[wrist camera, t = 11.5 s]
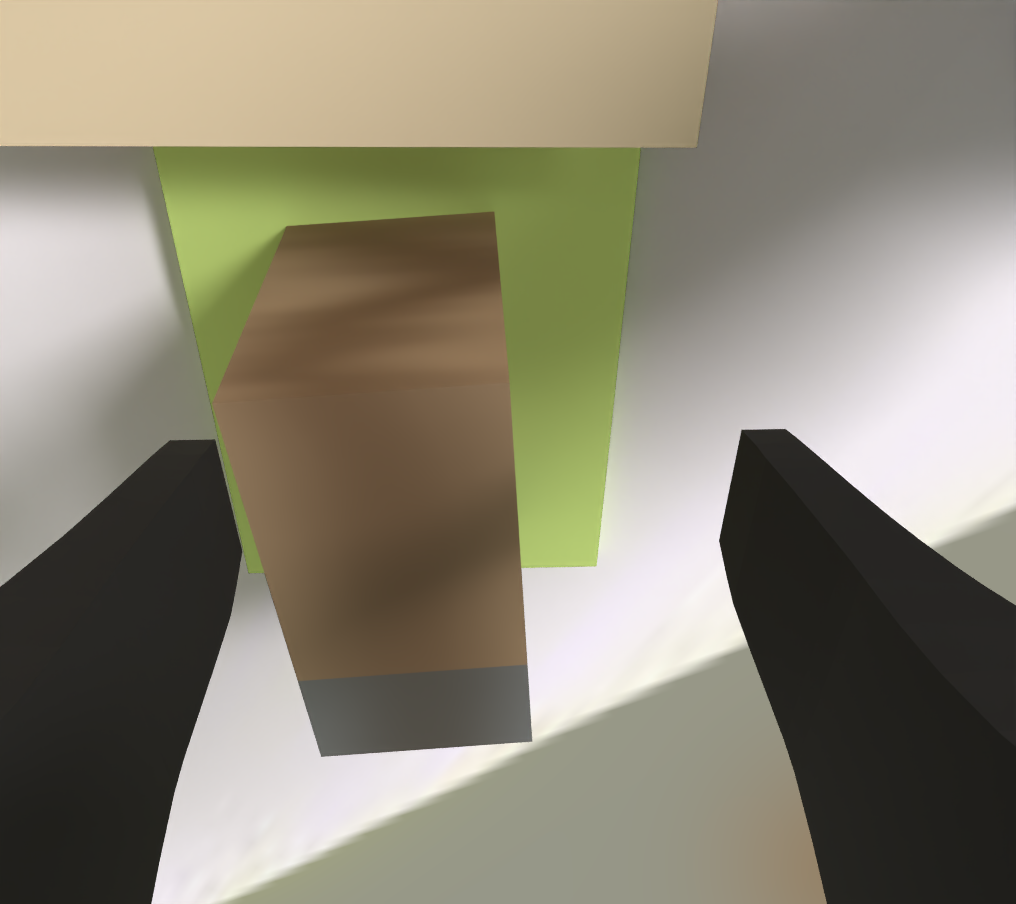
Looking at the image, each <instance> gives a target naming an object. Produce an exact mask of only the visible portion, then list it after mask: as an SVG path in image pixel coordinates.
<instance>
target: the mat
mask: <svg viewBox="0 0 1016 904" xmlns="http://www.w3.org/2000/svg"><path fill="white" fill-rule="evenodd" d="M153 150H154V154H155V159H156V163H157V168H158V172H159V177H160V181H161V186H162V190H163V195H164V199H165V203H166V208H167V212H168V217H169V221H170V226H171V230H172V235H173V239H174V244H175V248H176V252H177V257H178V261H179V266H180V270H181V275H182V279H183V284H184V288H185V293H186V297H187V301H188V306H189V310H190V315H191V319H192V324H193V328H194V333H195V337H196V341H197V346H198V350H199V355H200V359H201V364H202V368H203V373H204V377H205V382H206V386H207V390H208V395H209V399H210V404H211V408H212V413H213V417H214V422H215V426H216V431H217V435H218V439H219V444H220V448H221V453H222V457H223V462H224V466H225V471H226V475H227V480H228V484H229V488H230V493H231V497H232V502H233V506H234V511H235V515H236V520H237V524H238V529H239V533H240V537H241V542H242V546H243V551H244V555H245V560H246V564H247V569H248V573H264V570H263V567H262V564H261V560H260V557H259V554H258V551H257V547H256V544H255V541H254V538H253V535H252V531H251V528H250V525H249V522H248V518H247V515H246V512H245V509H244V505H243V502H242V499H241V496H240V493H239V489H238V486H237V483H236V480H235V476H234V473H233V470H232V467H231V463H230V460H229V457H228V454H227V451H226V447H225V444H224V441H223V438H222V434H221V431H220V428H219V425H218V422H217V418H216V415H215V412H214V409H213V405H212V402H213V400H214V397H215V395H216V393H217V390H218V388H219V386H220V383H221V381H222V378H223V376H224V374H225V371H226V369H227V367H228V364H229V362H230V359H231V357H232V355H233V352H234V350H235V348H236V345H237V343H238V340H239V338H240V336H241V333H242V331H243V329H244V326H245V324H246V321H247V319H248V317H249V314H250V312H251V309H252V307H253V305H254V302H255V300H256V298H257V295H258V293H259V290H260V288H261V286H262V283H263V281H264V279H265V276H266V274H267V271H268V269H269V267H270V264H271V262H272V260H273V257H274V255H275V252H276V250H277V248H278V245H279V243H280V241H281V238H282V236H283V233H284V231H285V229H286V226H295V225H309V224H323V223H337V222H352V221H366V220H380V219H395V218H409V217H423V216H437V215H452V214H466V213H480V212H494V213H495V225H496V236H497V247H498V258H499V269H500V281H501V292H502V303H503V314H504V326H505V337H506V348H507V359H508V371H509V382H510V397H511V413H512V429H513V445H514V461H515V477H516V493H517V509H518V525H519V541H520V556H521V568H535V567H585V566H596V565H597V556H598V547H599V537H600V528H601V518H602V509H603V499H604V490H605V481H606V471H607V462H608V452H609V443H610V434H611V424H612V415H613V405H614V396H615V387H616V377H617V368H618V358H619V349H620V339H621V330H622V321H623V311H624V302H625V292H626V283H627V274H628V264H629V255H630V245H631V236H632V227H633V217H634V208H635V198H636V189H637V180H638V170H639V161H640V151H641V148H598V147H207V146H154V147H153Z"/></svg>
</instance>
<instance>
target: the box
mask: <svg viewBox="0 0 1016 904" xmlns="http://www.w3.org/2000/svg"><path fill="white" fill-rule="evenodd" d="M212 405H213V409H214V412H215V415H216V418H217V422H218V425H219V428H220V431H221V434H222V438H223V441H224V444H225V447H226V451H227V454H228V457H229V460H230V463H231V467H232V470H233V473H234V476H235V480H236V483H237V486H238V489H239V493H240V496H241V499H242V502H243V505H244V509H245V512H246V515H247V518H248V522H249V525H250V528H251V531H252V535H253V538H254V541H255V544H256V547H257V551H258V554H259V557H260V560H261V564H262V567H263V570H264V573H265V576H266V580H267V583H268V586H269V589H270V593H271V596H272V599H273V602H274V606H275V609H276V612H277V615H278V618H279V622H280V625H281V628H282V631H283V635H284V638H285V641H286V644H287V648H288V651H289V654H290V657H291V660H292V664H293V667H294V670H295V673H296V677H297V680H298V683H299V686H300V689H301V693H302V696H303V699H304V702H305V706H306V709H307V712H308V715H309V719H310V722H311V725H312V728H313V731H314V735H315V738H316V741H317V744H318V748H319V751H320V754H321V757H324V756H338V755H352V754H366V753H379V752H393V751H407V750H421V749H435V748H448V747H462V746H476V745H490V744H504V743H517V742H531V741H532V731H531V715H530V700H529V684H528V668H527V652H526V636H525V620H524V604H523V588H522V572H521V556H520V541H519V525H518V509H517V493H516V477H515V461H514V445H513V429H512V413H511V397H510V382H509V371H508V359H507V348H506V337H505V326H504V314H503V303H502V292H501V281H500V269H499V258H498V247H497V236H496V225H495V213H494V212H480V213H466V214H452V215H437V216H423V217H409V218H395V219H380V220H366V221H352V222H337V223H323V224H309V225H295V226H286V229H285V231H284V233H283V236H282V238H281V241H280V243H279V245H278V248H277V250H276V252H275V255H274V257H273V260H272V262H271V264H270V267H269V269H268V271H267V274H266V276H265V279H264V281H263V283H262V286H261V288H260V290H259V293H258V295H257V298H256V300H255V302H254V305H253V307H252V309H251V312H250V314H249V317H248V319H247V321H246V324H245V326H244V329H243V331H242V333H241V336H240V338H239V340H238V343H237V345H236V348H235V350H234V352H233V355H232V357H231V359H230V362H229V364H228V367H227V369H226V371H225V374H224V376H223V378H222V381H221V383H220V386H219V388H218V390H217V393H216V395H215V397H214V400H213V402H212Z"/></svg>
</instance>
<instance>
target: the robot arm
mask: <svg viewBox="0 0 1016 904" xmlns="http://www.w3.org/2000/svg"><path fill="white" fill-rule="evenodd" d="M719 542H720V547H721V552H722V556H723V561H724V566H725V571H726V575H727V580H728V584H729V588H730V592H731V596H732V601H733V604H734V607H735V610H736V613H737V615H738V618H739V621H740V624H741V627H742V629H743V632H744V635H745V637H746V640H747V643H748V646H749V648H750V651H751V654H752V656H753V659H754V662H755V664H756V667H757V670H758V672H759V675H760V678H761V680H762V683H763V685H764V688H765V691H766V693H767V696H768V699H769V701H770V704H771V707H772V710H773V712H774V715H775V717H776V720H777V723H778V725H779V728H780V731H781V733H782V736H783V739H784V742H785V745H786V748H787V750H788V754H789V757H790V760H791V763H792V766H793V769H794V772H795V776H796V780H797V784H798V787H799V791H800V795H801V799H802V803H803V807H804V811H805V814H806V818H807V822H808V826H809V830H810V834H811V838H812V842H813V846H814V850H815V855H816V859H817V863H818V867H819V872H820V876H821V880H822V884H823V889H824V893H825V897H826V901H827V904H1016V605H1014V604H1013V603H1011V602H1009V601H1008V600H1006V599H1005V598H1003V597H1001V596H1000V595H998V594H997V593H995V592H993V591H992V590H990V589H988V588H987V587H985V586H984V585H982V584H981V583H979V582H978V581H977V580H975V579H974V578H972V577H971V576H969V575H968V574H966V573H965V572H963V571H962V570H960V569H959V568H958V567H956V566H954V565H953V564H952V563H951V562H949V561H948V560H946V559H945V558H944V557H942V556H941V555H940V554H938V553H937V552H936V551H934V550H933V549H932V548H930V547H929V546H927V545H926V544H925V543H923V542H922V541H921V540H919V539H918V538H917V537H915V536H914V535H913V534H911V533H910V532H909V531H908V530H906V529H905V528H904V527H902V526H901V525H900V524H899V523H897V522H896V521H895V520H894V519H892V518H891V517H890V516H889V515H887V514H886V513H885V512H884V511H882V510H881V509H880V508H879V507H878V506H876V505H875V504H874V503H873V502H871V501H870V500H869V499H868V498H867V497H865V496H864V495H863V494H862V493H861V492H860V491H858V490H857V489H856V488H855V487H854V486H852V485H851V484H850V483H849V482H848V481H847V480H845V479H844V478H843V477H842V476H841V475H840V474H838V473H837V472H836V471H835V470H834V469H833V468H831V467H830V466H829V465H828V464H827V463H826V462H824V461H823V460H822V459H821V458H820V457H819V456H817V455H816V454H815V453H814V452H813V451H812V450H810V449H809V448H808V447H807V446H806V445H805V444H803V443H802V442H801V441H800V440H799V439H797V438H796V437H795V436H794V435H792V434H791V433H790V432H788V431H787V430H786V429H764V430H742V431H741V436H740V441H739V446H738V450H737V455H736V460H735V465H734V470H733V475H732V480H731V485H730V490H729V495H728V499H727V504H726V509H725V514H724V519H723V524H722V529H721V534H720V539H719ZM241 556H242V548H241V544H240V540H239V536H238V532H237V528H236V524H235V520H234V515H233V511H232V507H231V503H230V499H229V495H228V491H227V487H226V482H225V478H224V474H223V470H222V466H221V462H220V458H219V454H218V450H217V445H216V441H215V440H170V441H169V442H167V443H166V444H165V445H164V446H163V447H161V448H160V449H159V450H158V451H157V452H156V453H155V454H153V455H152V456H151V457H150V458H149V459H148V460H147V461H146V462H145V463H144V464H142V465H141V466H140V467H139V468H138V469H137V470H136V471H135V472H134V473H133V474H132V475H131V476H129V477H128V478H127V479H126V480H125V481H124V482H123V483H122V484H121V485H120V486H119V487H118V488H116V489H115V490H114V491H113V492H112V493H111V494H110V495H109V496H108V497H107V498H105V499H104V500H103V501H102V502H101V503H100V504H99V505H98V506H96V507H95V508H94V509H93V510H92V511H91V512H90V513H89V514H88V515H86V516H85V517H84V518H83V519H82V520H81V521H80V522H79V523H77V524H76V525H75V526H74V527H73V528H72V529H71V530H70V531H68V532H67V533H66V534H65V535H64V536H63V537H61V538H60V539H59V540H58V541H56V542H55V543H54V544H53V545H52V546H50V547H49V548H48V549H47V550H45V551H44V552H43V553H42V554H40V555H39V556H38V557H37V558H36V559H34V560H33V561H32V562H31V563H29V564H28V565H27V566H26V567H24V568H23V569H22V570H21V571H20V572H18V573H17V574H16V575H15V576H13V577H12V578H11V579H10V580H8V581H7V582H6V583H5V584H4V585H2V586H1V587H0V904H151V902H152V897H153V892H154V887H155V882H156V876H157V871H158V866H159V861H160V857H161V852H162V847H163V843H164V838H165V833H166V829H167V824H168V820H169V815H170V810H171V806H172V801H173V796H174V792H175V788H176V785H177V781H178V778H179V774H180V771H181V767H182V764H183V760H184V757H185V754H186V751H187V748H188V745H189V742H190V739H191V736H192V733H193V730H194V727H195V724H196V721H197V718H198V715H199V712H200V709H201V706H202V703H203V700H204V697H205V694H206V690H207V687H208V684H209V681H210V678H211V675H212V672H213V669H214V666H215V663H216V660H217V657H218V654H219V651H220V648H221V645H222V642H223V638H224V635H225V632H226V629H227V626H228V623H229V619H230V616H231V611H232V606H233V601H234V596H235V591H236V585H237V579H238V573H239V567H240V561H241Z"/></svg>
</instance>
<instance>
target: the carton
mask: <svg viewBox="0 0 1016 904" xmlns="http://www.w3.org/2000/svg"><path fill="white" fill-rule="evenodd" d="M717 5H718V0H0V146H207V147H598V148H697V144H698V137H699V130H700V123H701V116H702V109H703V102H704V95H705V88H706V81H707V74H708V67H709V60H710V53H711V46H712V40H713V33H714V26H715V19H716V12H717Z"/></svg>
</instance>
